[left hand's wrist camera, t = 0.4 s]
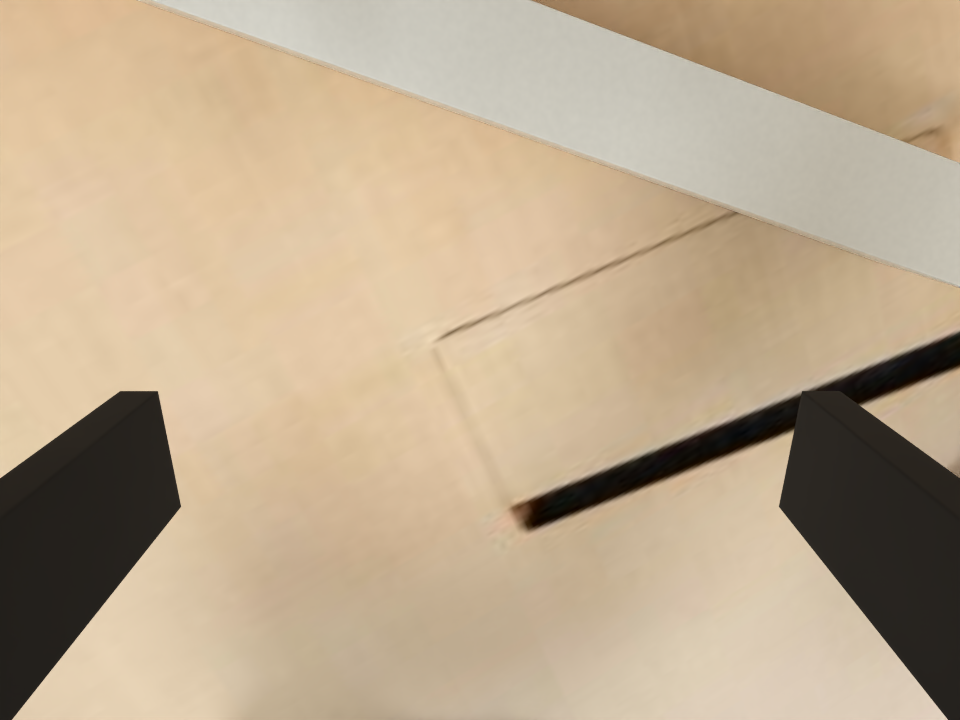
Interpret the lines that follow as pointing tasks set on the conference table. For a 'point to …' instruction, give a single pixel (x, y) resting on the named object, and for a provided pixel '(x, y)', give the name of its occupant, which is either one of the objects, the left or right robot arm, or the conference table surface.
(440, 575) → the conference table surface
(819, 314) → the conference table surface
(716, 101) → the post
